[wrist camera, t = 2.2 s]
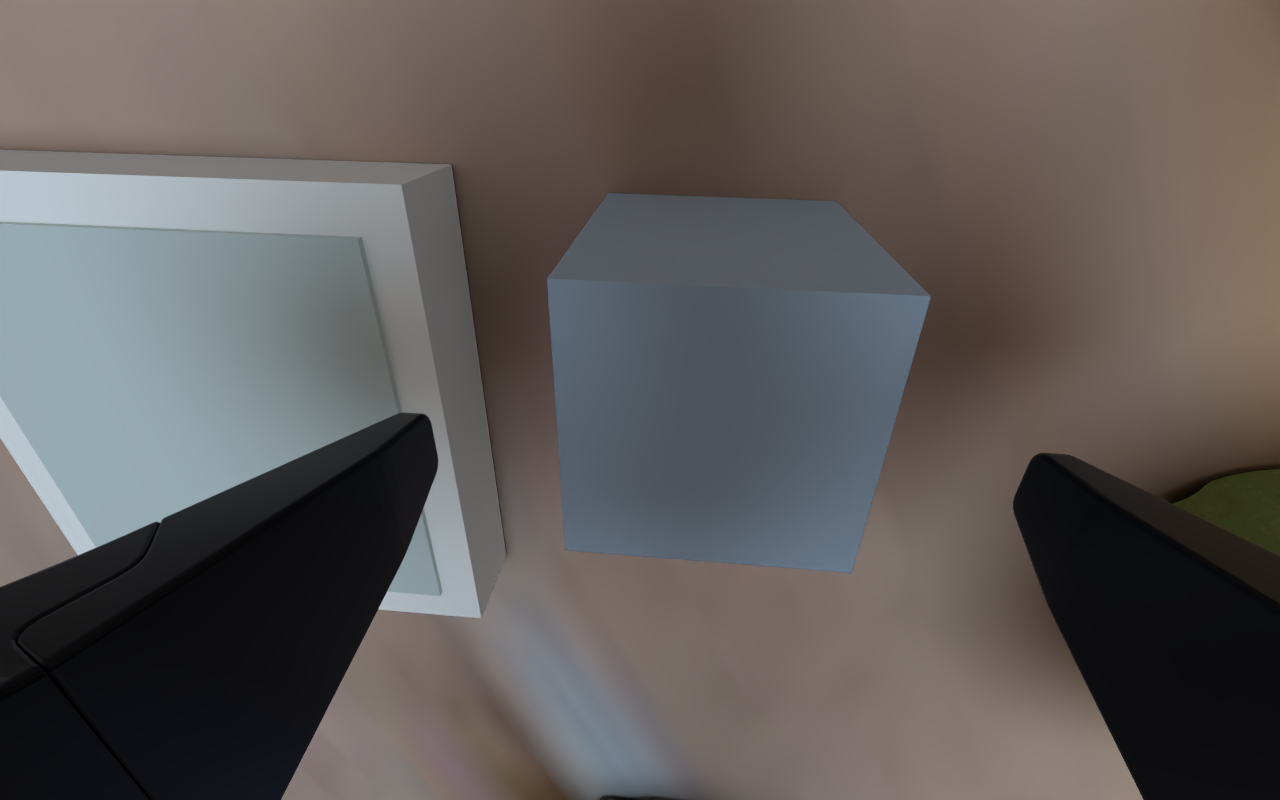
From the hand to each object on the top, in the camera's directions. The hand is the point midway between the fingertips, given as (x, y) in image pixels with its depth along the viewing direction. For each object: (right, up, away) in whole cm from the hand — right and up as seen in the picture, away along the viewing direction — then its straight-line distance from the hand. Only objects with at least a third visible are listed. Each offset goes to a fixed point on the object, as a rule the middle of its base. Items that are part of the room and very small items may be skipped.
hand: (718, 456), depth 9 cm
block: (+1, +3, +5) cm, 6 cm away
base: (-11, +1, +7) cm, 14 cm away
